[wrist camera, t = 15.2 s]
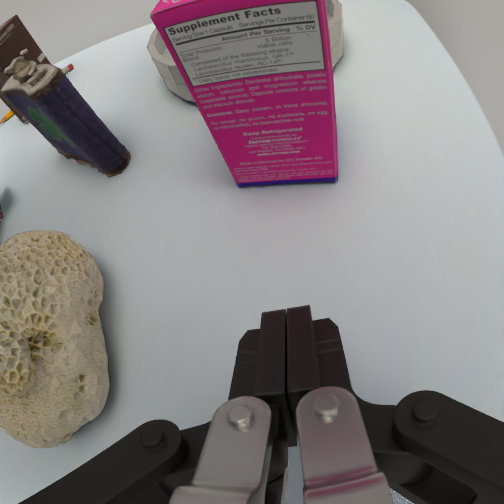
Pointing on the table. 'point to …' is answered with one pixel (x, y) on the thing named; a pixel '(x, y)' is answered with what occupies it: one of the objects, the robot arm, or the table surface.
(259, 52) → the supplement box
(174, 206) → the table surface
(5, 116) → the pencil
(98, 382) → the decorative item
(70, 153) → the flask
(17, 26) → the box
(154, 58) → the bowl
